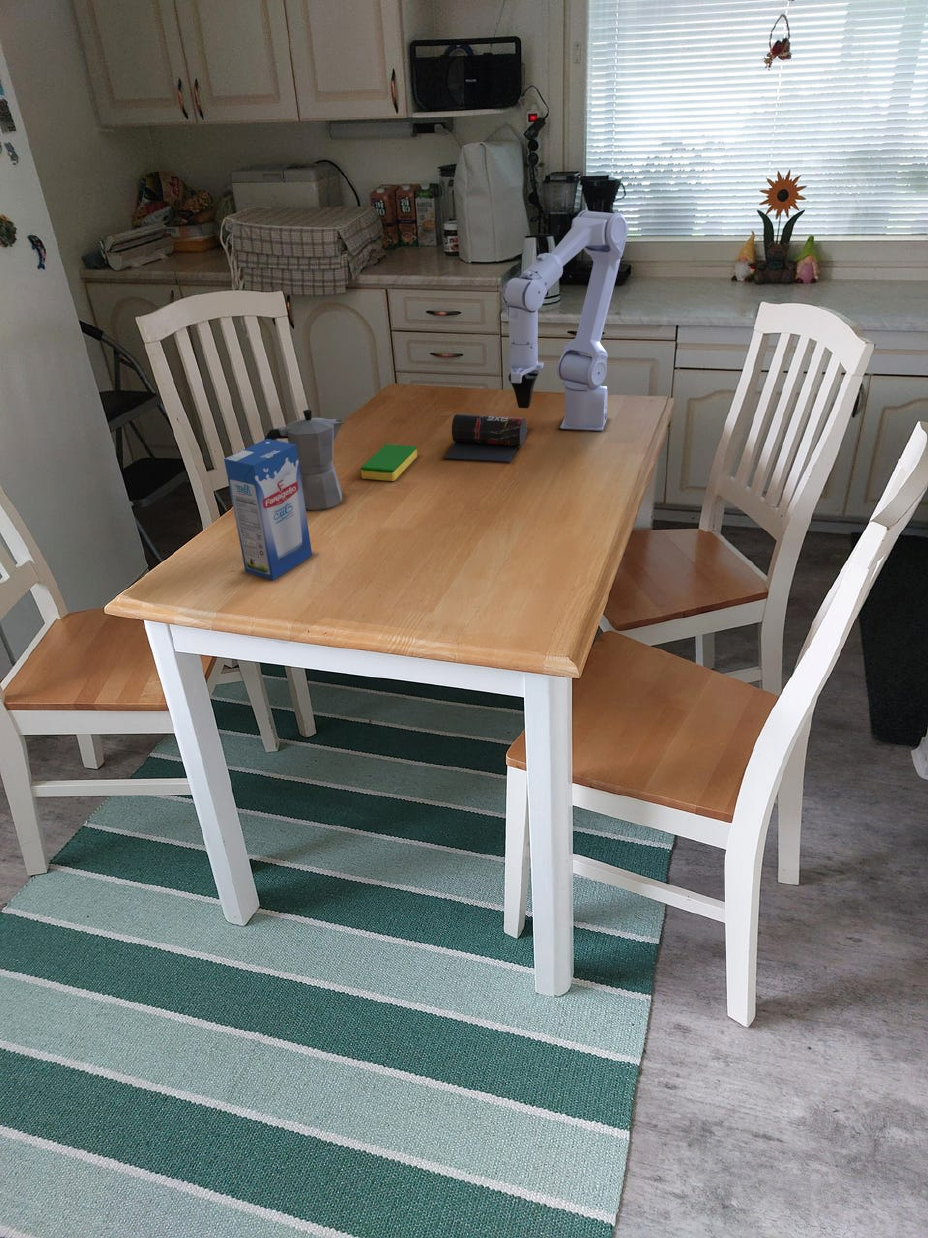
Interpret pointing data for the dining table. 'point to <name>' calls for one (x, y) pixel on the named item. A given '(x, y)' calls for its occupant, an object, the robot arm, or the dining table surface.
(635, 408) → the dining table surface
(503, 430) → the deodorant
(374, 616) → the dining table surface
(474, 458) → the mat
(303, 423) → the coffeepot
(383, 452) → the dish sponge
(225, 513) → the dining table surface
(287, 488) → the milk carton
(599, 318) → the robot arm
